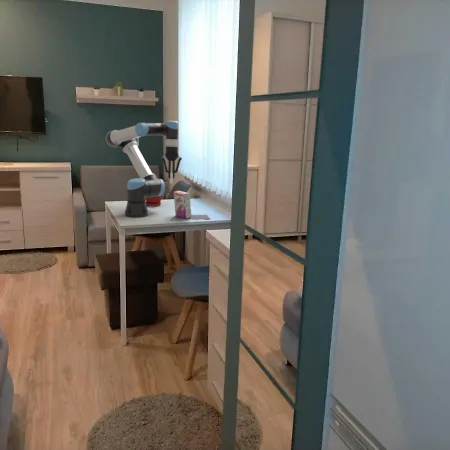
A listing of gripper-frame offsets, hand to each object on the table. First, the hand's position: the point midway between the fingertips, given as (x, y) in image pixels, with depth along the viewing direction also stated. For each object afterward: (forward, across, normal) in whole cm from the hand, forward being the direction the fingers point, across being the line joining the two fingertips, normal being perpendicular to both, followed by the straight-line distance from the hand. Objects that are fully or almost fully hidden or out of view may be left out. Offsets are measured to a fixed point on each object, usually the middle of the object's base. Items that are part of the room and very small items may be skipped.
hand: (171, 183), depth 279 cm
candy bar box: (+22, +8, 0) cm, 24 cm away
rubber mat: (+22, +18, -1) cm, 29 cm away
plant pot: (+22, -9, +39) cm, 46 cm away
